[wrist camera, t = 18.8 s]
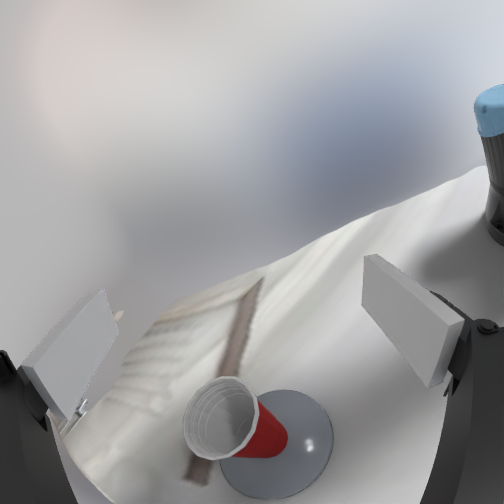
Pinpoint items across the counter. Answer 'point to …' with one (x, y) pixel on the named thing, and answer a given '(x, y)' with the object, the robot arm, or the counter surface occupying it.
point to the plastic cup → (231, 422)
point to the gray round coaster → (286, 450)
